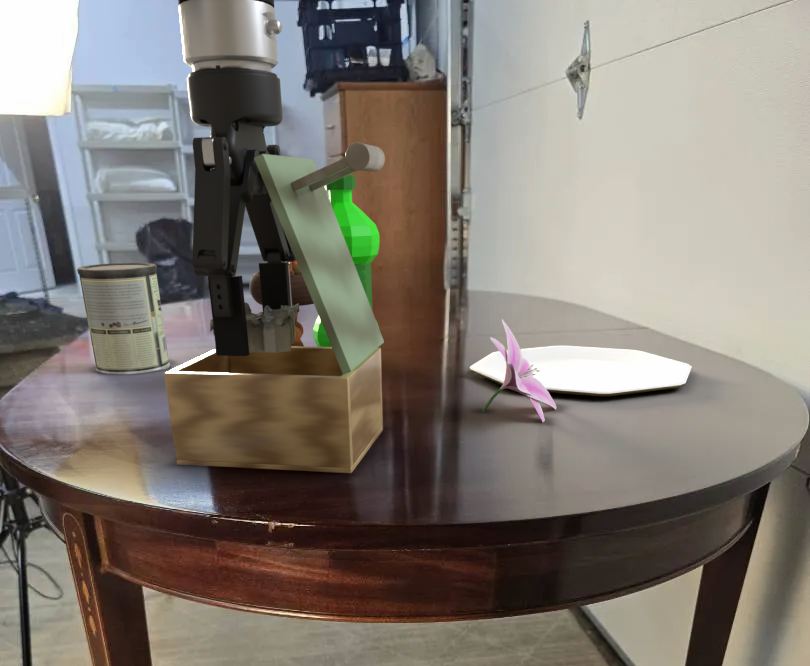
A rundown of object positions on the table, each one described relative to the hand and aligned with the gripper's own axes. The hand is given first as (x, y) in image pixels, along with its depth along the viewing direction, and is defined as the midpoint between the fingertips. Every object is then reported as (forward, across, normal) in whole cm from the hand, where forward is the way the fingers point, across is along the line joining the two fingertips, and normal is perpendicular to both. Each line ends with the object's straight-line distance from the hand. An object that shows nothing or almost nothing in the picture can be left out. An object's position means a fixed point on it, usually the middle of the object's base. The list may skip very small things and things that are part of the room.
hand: (257, 342), depth 72 cm
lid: (-7, 0, -7) cm, 10 cm away
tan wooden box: (+10, 0, -2) cm, 11 cm away
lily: (+11, +15, -24) cm, 30 cm away
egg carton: (0, 0, 0) cm, 0 cm away
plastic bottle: (+11, +44, +3) cm, 45 cm away
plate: (+11, +36, -31) cm, 49 cm away
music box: (+11, +27, +6) cm, 30 cm away
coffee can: (+11, +33, +32) cm, 47 cm away
